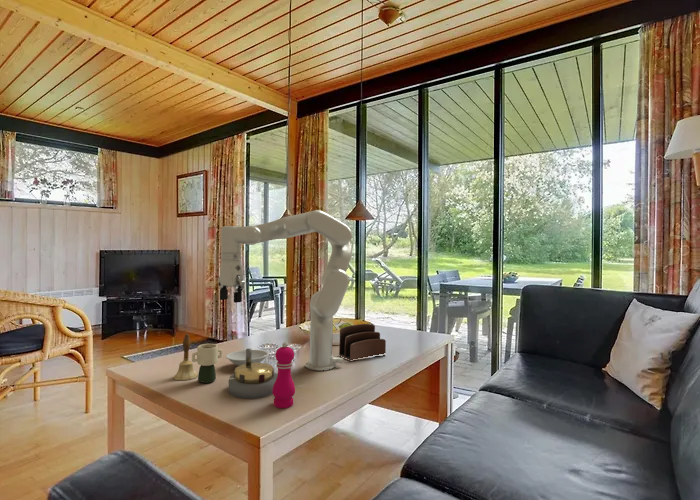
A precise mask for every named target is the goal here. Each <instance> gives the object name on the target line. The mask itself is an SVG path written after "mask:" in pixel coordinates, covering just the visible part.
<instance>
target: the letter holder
mask: <svg viewBox="0 0 700 500" xmlns="http://www.w3.org/2000/svg"><path fill="white" fill-rule="evenodd" d="M386 343H387V340H386V339H384V338H381V333H380V332H379V331H376V325H375V324H373V323H359V324H352V325H348V326H344V327H342V328H340V329H339V349H338V350H339V351H338V356H339V355H340V356H342V357H344V358H347V359H349V360H353V359H358V358H363V357H368V356H373V355H379V354H384V353H386V352H387V351H386V350H387V348H386V347H387V345H386ZM340 356H339V357H340ZM342 357H341V358H342ZM344 358H343V359H344Z"/></svg>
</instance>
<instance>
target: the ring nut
mask: <svg viewBox="0 0 700 500" xmlns="http://www.w3.org/2000/svg"><path fill="white" fill-rule="evenodd" d="M245 350H246V364H243V365H240V366H238V365H237V367H235V369H234V370H233V374H234V377H235V380H236V381H238V382H240V383H245V384H257V383H263V382H267V381H269V380H271V379H272V378H273V377H274V373H275V368H274V366H273V365H271V364H268V363H264V362H260V363H251V358H252V350H253V349H252V348H246V349H245Z"/></svg>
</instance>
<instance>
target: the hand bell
mask: <svg viewBox="0 0 700 500" xmlns="http://www.w3.org/2000/svg"><path fill="white" fill-rule="evenodd" d="M182 340H183V341H182V348H183V360H182V361H180V363H179V367H178V369H177V372H176V373H175V375H173V379H174V380H176V381H189V380H190V381H191V380H193V379H195V378H198V373H197V372H196V371H195V369H194V367H193V362H192V360H191V361H190V360H189V354H190V353H189V351H190V347H191V339H190V335H189V334H188V333H186V334H184V338H183V339H182Z"/></svg>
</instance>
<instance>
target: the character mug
mask: <svg viewBox="0 0 700 500" xmlns="http://www.w3.org/2000/svg"><path fill="white" fill-rule="evenodd" d="M196 351H197V352H193V353H192V354H191V362H192V363H195V362H196V363H197V365H199V370H198V373H197V375H198V376H197V381H198V382H199V383H200V382H201V383H213V382H214V381H216V380H217V376H216V375H217V373H216V367H215V365H216V364H217V362H218V361H219V360H218V359H221V358H222V357H223V349H222V348H219V345H218V344H216V343H203V344H200V345H198V346H197V347H196ZM218 353H219V354H218Z"/></svg>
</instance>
